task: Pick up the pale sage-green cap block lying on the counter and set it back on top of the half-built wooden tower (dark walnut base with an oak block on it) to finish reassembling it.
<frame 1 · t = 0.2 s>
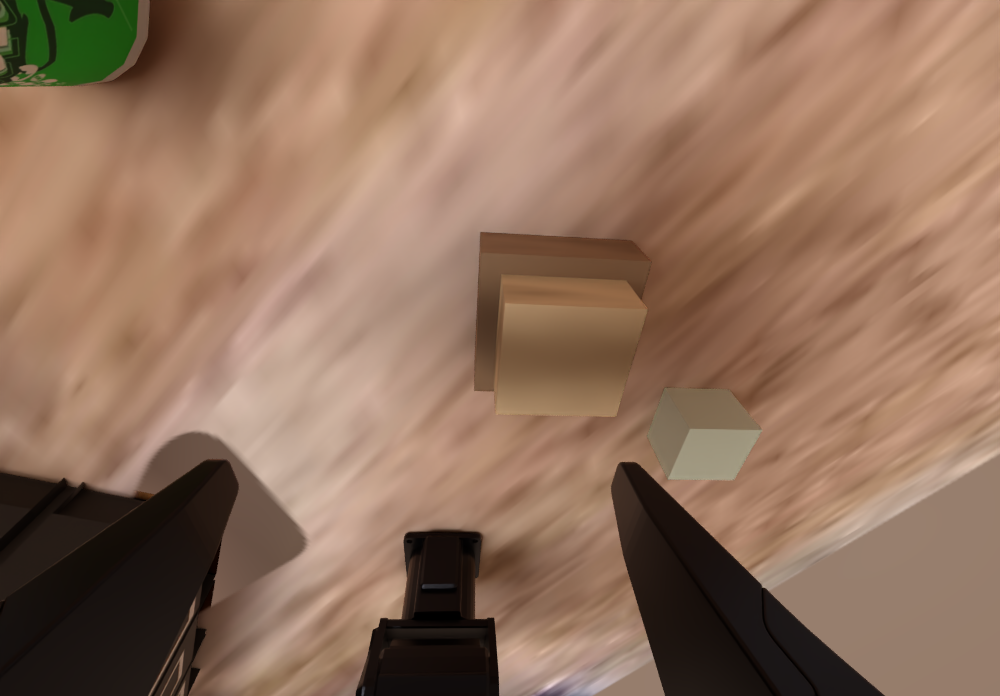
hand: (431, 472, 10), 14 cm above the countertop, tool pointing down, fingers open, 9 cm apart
walnut base: (546, 305, 24), on the countertop
treasure chest: (17, 574, 36), on the countertop
cap block: (685, 412, 29), on the countertop
oak middle block: (555, 331, 21), point 3 cm above the countertop, touching walnut base
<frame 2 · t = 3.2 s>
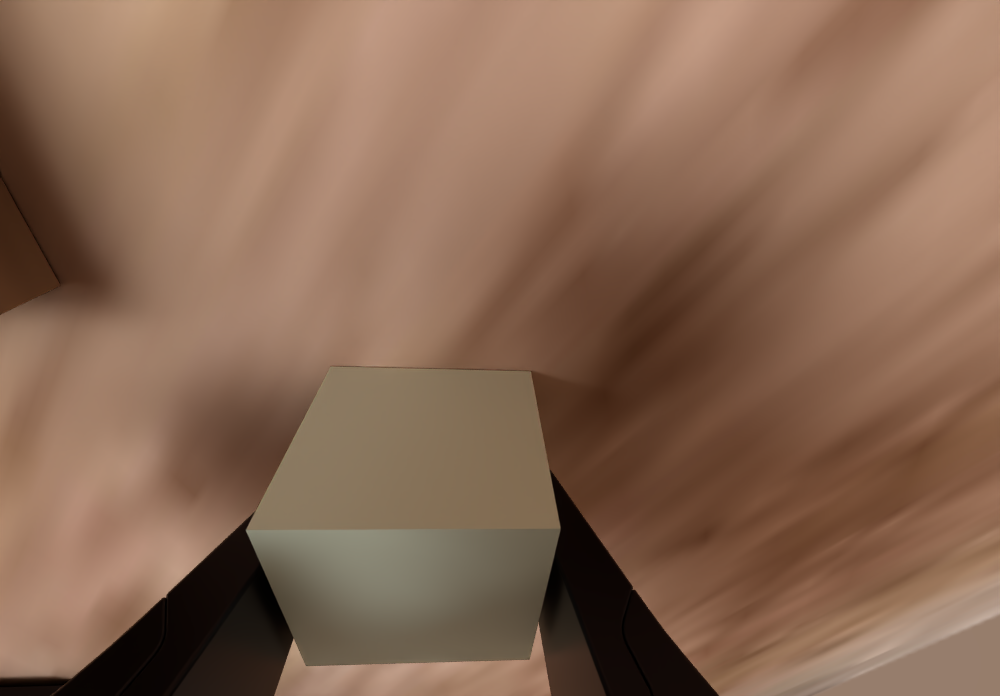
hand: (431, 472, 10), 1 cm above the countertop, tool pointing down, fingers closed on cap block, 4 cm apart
cap block: (434, 440, 11), on the countertop, touching gripper
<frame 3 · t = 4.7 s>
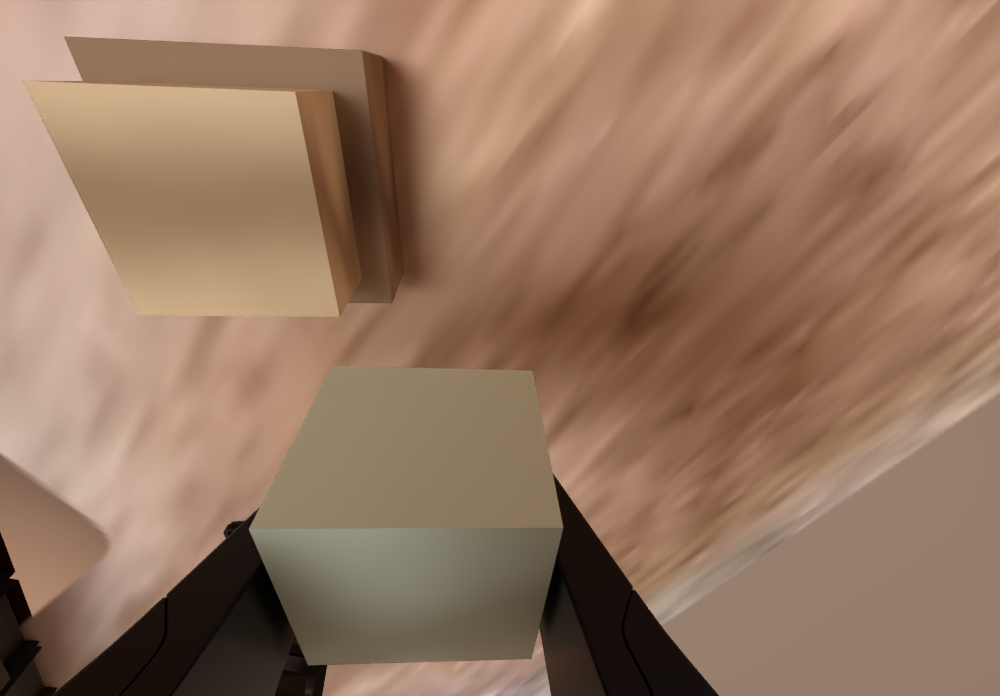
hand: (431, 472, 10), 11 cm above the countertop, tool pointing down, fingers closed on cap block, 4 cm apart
walnut base: (291, 176, 16), on the countertop
cap block: (436, 439, 11), point 10 cm above the countertop, touching gripper
oak middle block: (256, 193, 14), point 3 cm above the countertop, touching walnut base
when the fingers open (8 cm above the countertop, at t = 6.4 s): cap block drops 1 cm, resting on oak middle block.
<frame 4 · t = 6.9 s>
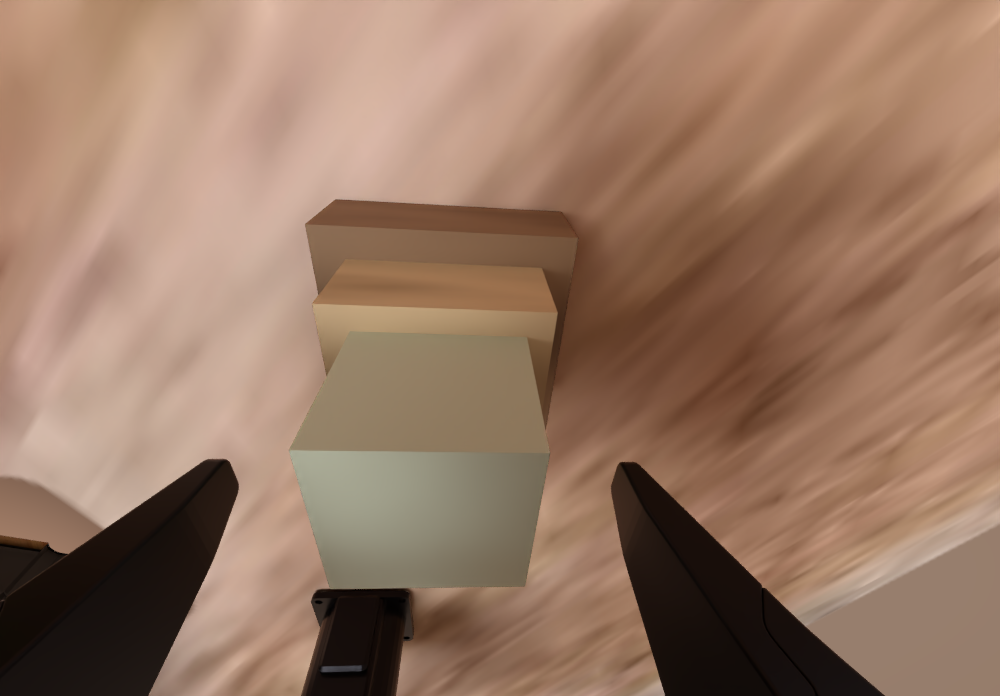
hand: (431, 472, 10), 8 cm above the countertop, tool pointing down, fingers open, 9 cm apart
walnut base: (450, 306, 17), on the countertop
cap block: (440, 401, 12), point 6 cm above the countertop, touching oak middle block
oak middle block: (445, 345, 14), point 3 cm above the countertop, touching cap block, walnut base
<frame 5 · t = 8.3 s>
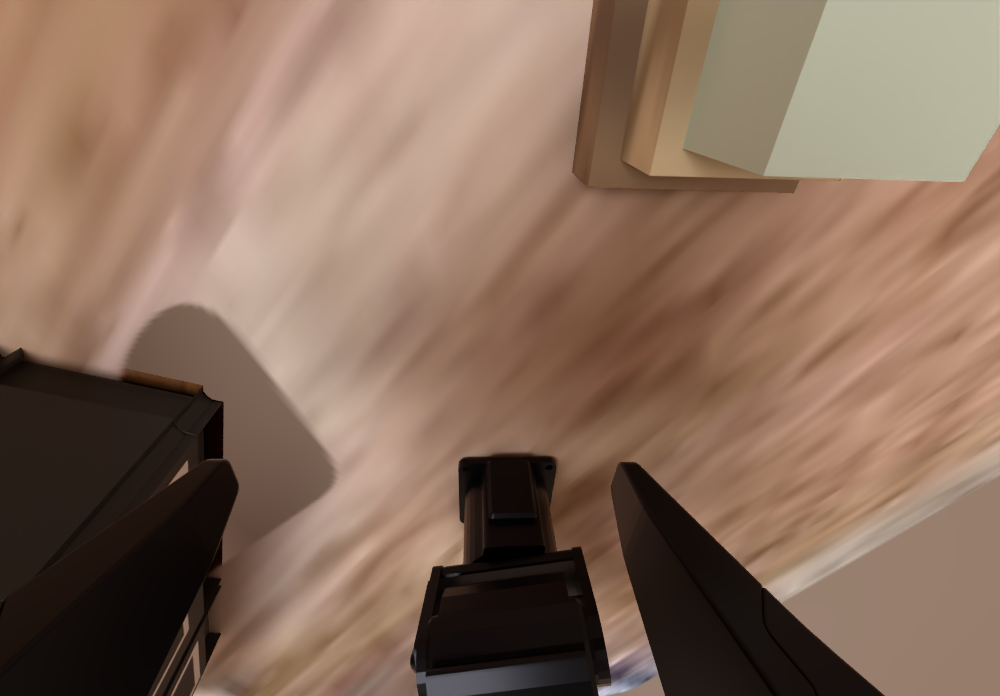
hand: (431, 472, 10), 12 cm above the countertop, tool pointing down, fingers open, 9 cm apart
walnut base: (688, 63, 16), on the countertop
cap block: (789, 56, 11), point 6 cm above the countertop, touching oak middle block
oak middle block: (728, 61, 13), point 3 cm above the countertop, touching cap block, walnut base
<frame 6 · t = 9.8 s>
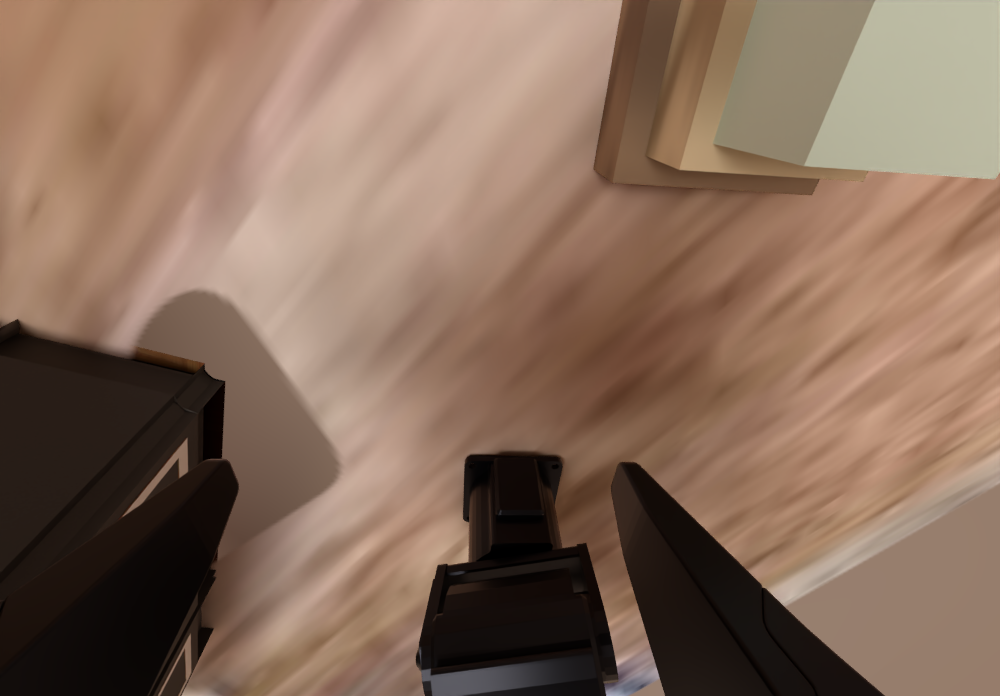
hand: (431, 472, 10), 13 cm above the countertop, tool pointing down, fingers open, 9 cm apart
walnut base: (712, 66, 16), on the countertop
cap block: (821, 56, 11), point 6 cm above the countertop, touching oak middle block
oak middle block: (755, 62, 14), point 3 cm above the countertop, touching cap block, walnut base
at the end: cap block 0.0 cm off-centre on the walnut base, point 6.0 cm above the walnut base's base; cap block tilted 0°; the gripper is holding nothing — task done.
